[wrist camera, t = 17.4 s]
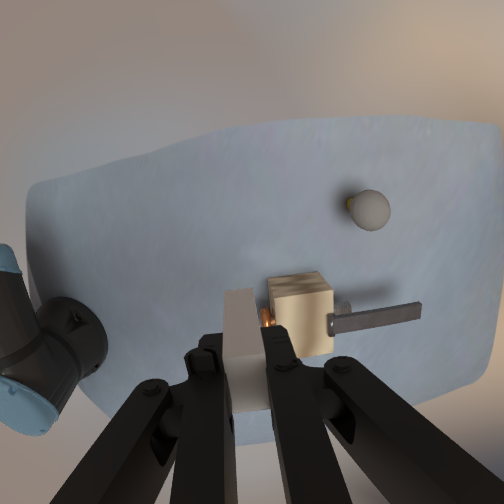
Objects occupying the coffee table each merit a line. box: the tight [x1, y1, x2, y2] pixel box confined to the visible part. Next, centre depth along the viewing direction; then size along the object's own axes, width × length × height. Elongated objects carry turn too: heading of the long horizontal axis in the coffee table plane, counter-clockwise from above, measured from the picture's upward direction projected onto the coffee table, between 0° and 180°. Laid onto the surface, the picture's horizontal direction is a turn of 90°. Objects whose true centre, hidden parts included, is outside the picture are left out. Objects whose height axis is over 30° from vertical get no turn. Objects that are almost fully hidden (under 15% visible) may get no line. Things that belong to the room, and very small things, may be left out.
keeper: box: [327, 301, 422, 337], centre depth 42 cm, size 15×3×1 cm, turn 96°
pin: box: [260, 301, 352, 327], centre depth 46 cm, size 13×4×4 cm, turn 96°
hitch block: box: [267, 272, 334, 358], centre depth 47 cm, size 8×10×8 cm
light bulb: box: [347, 190, 390, 231], centre depth 42 cm, size 5×6×10 cm
